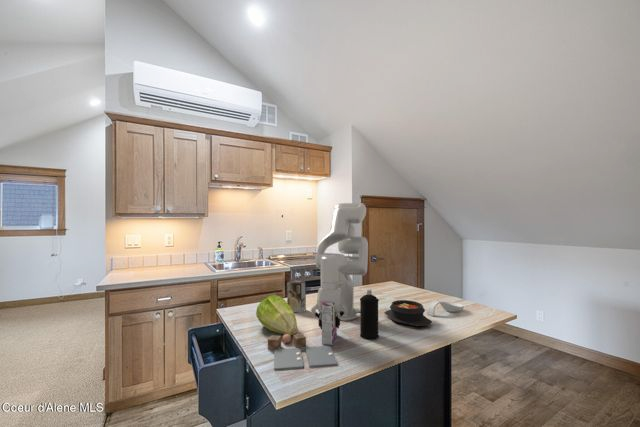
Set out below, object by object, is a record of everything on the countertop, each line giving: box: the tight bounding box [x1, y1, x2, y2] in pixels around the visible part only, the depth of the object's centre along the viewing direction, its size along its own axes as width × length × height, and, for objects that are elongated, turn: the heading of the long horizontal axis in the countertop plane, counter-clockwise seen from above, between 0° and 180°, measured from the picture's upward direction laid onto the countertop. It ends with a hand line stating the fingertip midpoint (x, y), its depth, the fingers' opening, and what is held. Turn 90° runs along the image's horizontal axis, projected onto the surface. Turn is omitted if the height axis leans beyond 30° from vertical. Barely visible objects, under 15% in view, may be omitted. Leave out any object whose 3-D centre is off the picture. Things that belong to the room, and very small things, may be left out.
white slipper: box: [426, 299, 465, 317], centre depth 155 cm, size 24×12×7 cm, turn 119°
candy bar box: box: [321, 303, 338, 346], centre depth 119 cm, size 11×5×16 cm, turn 169°
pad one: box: [304, 345, 339, 368], centre depth 104 cm, size 10×14×1 cm
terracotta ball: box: [282, 334, 292, 344], centre depth 116 cm, size 4×4×4 cm
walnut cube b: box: [267, 335, 282, 351], centre depth 112 cm, size 4×4×4 cm
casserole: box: [383, 299, 433, 327], centre depth 142 cm, size 25×19×8 cm
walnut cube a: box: [292, 332, 307, 349], centre depth 113 cm, size 4×4×4 cm
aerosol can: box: [359, 289, 380, 341], centre depth 123 cm, size 8×8×20 cm
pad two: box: [273, 347, 305, 371], centre depth 103 cm, size 10×14×1 cm
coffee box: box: [286, 279, 307, 314], centre depth 157 cm, size 9×6×16 cm
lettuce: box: [255, 294, 298, 336], centre depth 129 cm, size 15×24×16 cm
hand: (329, 327), depth 119 cm, fingers closed on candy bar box, 6 cm apart
